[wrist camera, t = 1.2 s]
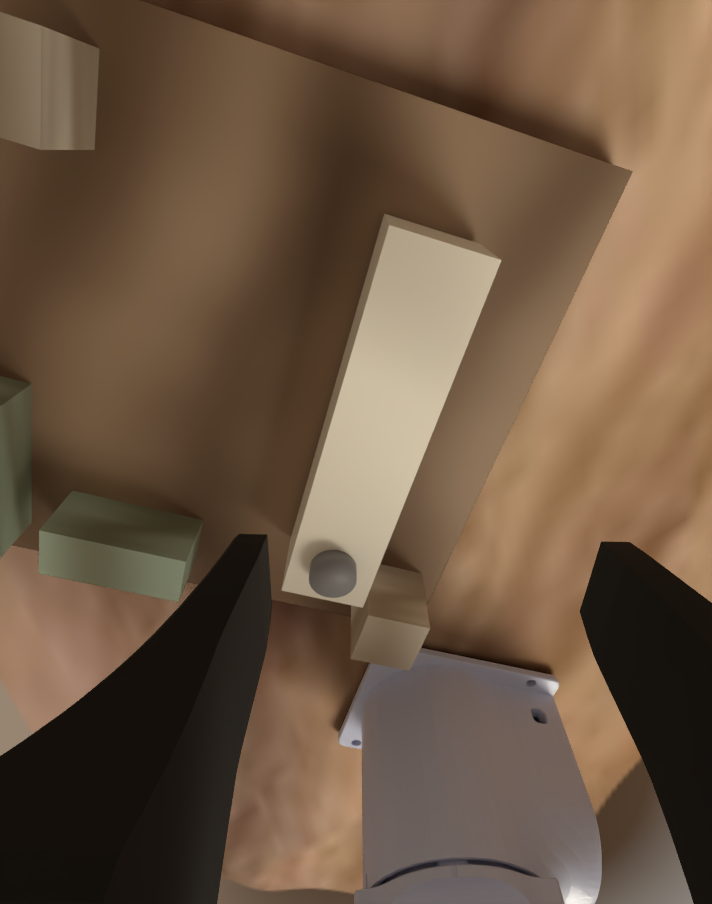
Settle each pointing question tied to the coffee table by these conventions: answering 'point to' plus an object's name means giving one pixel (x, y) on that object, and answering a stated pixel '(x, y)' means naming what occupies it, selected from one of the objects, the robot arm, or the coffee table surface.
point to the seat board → (242, 295)
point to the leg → (385, 404)
